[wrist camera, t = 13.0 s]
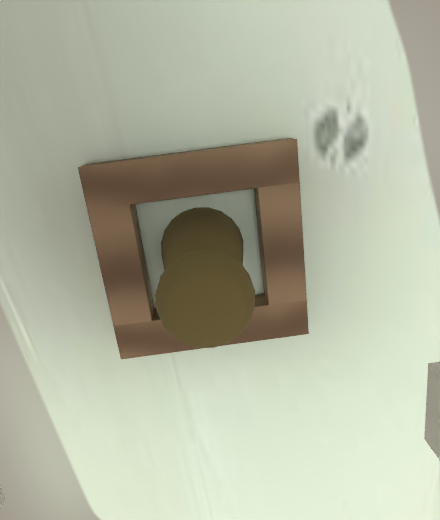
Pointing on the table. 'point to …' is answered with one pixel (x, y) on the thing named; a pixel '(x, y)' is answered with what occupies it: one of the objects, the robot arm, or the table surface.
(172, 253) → the cork
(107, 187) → the socket plate
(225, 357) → the table surface
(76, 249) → the table surface
